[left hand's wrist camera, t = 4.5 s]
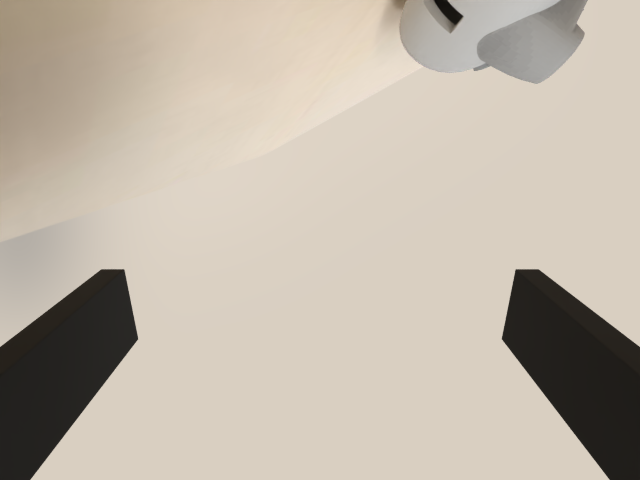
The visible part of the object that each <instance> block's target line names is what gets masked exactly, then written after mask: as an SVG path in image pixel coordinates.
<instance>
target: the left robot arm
mask: <svg viewBox="0 0 640 480" xmlns="http://www.w3.org/2000/svg"><path fill="white" fill-rule="evenodd" d="M137 340H138V336H137V331H136V326H135V321H134V316H133V311H132V306H131V301H130V296H129V291H128V286H127V281H126V276H125V271H124V269H122V270H121V269H118V270H117V269H107V270H106V269H105V270H104V269H102V270H100V271H99V272H97V273H96V274H95V275H94V276H92V277H91V278H90V279H88V280H87V281H86V282H85V283H83V284H82V285H81V286H79V287H78V288H77V289H75V290H74V291H73V292H71V293H70V294H69V295H67V296H66V297H65V298H64V299H62V300H61V301H60V302H58V303H57V304H56V305H54V306H53V307H52V308H51V309H49V310H48V311H47V312H45V313H44V314H43V315H41V316H40V317H39V318H38V319H36V320H35V321H34V322H32V323H31V324H30V325H28V326H27V327H26V328H24V329H23V330H22V331H21V332H19V333H18V334H17V335H15V336H14V337H13V338H11V339H10V340H9V341H7V342H6V343H5V344H4V345H2V346H1V347H0V480H30V479H31V478H32V477H33V476H34V474H35V473H36V472H37V470H38V469H39V468H40V466H41V465H42V464H43V462H44V461H45V460H46V459H47V457H48V456H49V455H50V453H51V452H52V451H53V449H54V448H55V447H56V445H57V444H58V443H59V442H60V440H61V439H62V438H63V436H64V435H65V434H66V432H67V431H68V430H69V428H70V427H71V426H72V425H73V423H74V422H75V421H76V419H77V418H78V417H79V416H80V414H81V413H82V412H83V410H84V409H85V408H86V406H87V405H88V404H89V402H90V401H91V400H92V399H93V397H94V396H95V395H96V393H97V392H98V391H99V389H100V388H101V387H102V386H103V384H104V383H105V382H106V380H107V379H108V378H109V376H110V375H111V374H112V373H113V371H114V370H115V369H116V367H117V366H118V365H119V363H120V362H121V361H122V359H123V358H124V357H125V356H126V354H127V353H128V352H129V350H130V349H131V348H132V346H133V345H134V344H135V343H136V341H137ZM502 340H503V341H504V342H505V344H506V345H507V346H508V348H509V349H510V350H511V352H512V353H513V354H514V355H515V357H516V358H517V359H518V361H519V362H520V363H521V365H522V366H523V367H524V369H525V370H526V371H527V372H528V374H529V375H530V376H531V378H532V379H533V380H534V382H535V383H536V384H537V386H538V387H539V388H540V389H541V391H542V392H543V393H544V395H545V396H546V397H547V399H548V400H549V401H550V402H551V404H552V405H553V406H554V408H555V409H556V410H557V412H558V413H559V414H560V416H561V417H562V418H563V419H564V421H565V422H566V423H567V425H568V426H569V427H570V429H571V430H572V431H573V432H574V434H575V435H576V436H577V438H578V439H579V440H580V442H581V443H582V444H583V445H584V447H585V448H586V449H587V451H588V452H589V453H590V455H591V456H592V457H593V459H594V460H595V461H596V462H597V464H598V465H599V466H600V468H601V469H602V470H603V472H604V473H605V474H606V476H607V477H608V478H609V479H610V480H640V347H639V346H638V345H636V344H635V343H634V342H632V341H631V340H630V339H629V338H627V337H626V336H625V335H623V334H622V333H621V332H619V331H618V330H617V329H616V328H614V327H613V326H612V325H610V324H609V323H608V322H606V321H605V320H604V319H603V318H601V317H600V316H599V315H597V314H596V313H595V312H593V311H592V310H591V309H589V308H588V307H587V306H586V305H584V304H583V303H582V302H580V301H579V300H578V299H576V298H575V297H574V296H573V295H571V294H570V293H569V292H567V291H566V290H565V289H563V288H562V287H561V286H559V285H558V284H557V283H556V282H554V281H553V280H552V279H550V278H549V277H548V276H546V275H545V274H544V273H543V272H541V271H540V270H538V269H530V270H529V269H527V270H526V269H525V270H523V269H522V270H521V269H520V270H519V269H518V270H517V269H516V271H515V276H514V281H513V286H512V291H511V296H510V301H509V306H508V311H507V316H506V321H505V326H504V331H503V336H502Z"/></svg>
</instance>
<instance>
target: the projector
mask: <svg viewBox="0 0 640 480" xmlns="http://www.w3.org/2000/svg"><path fill="white" fill-rule="evenodd" d="M586 2H587V0H406V2H405V5H404V7H403V11H402V14H401V19H400V37H401V41H402V44H403V46H404V48H405V50H406V51H407V52H408V54H409V55H410V56H411V57H412V58H413V59H414V60H415V61H417V62H418V63H419V64H421V65H423V66H425V67H427V68H429V69H432V70H435V71H438V72H447V73H454V72H461V71H466V70H469V69H472V68H473V69H474V71H477V70H482V69H484V68H487V67H489V66H492V67H494V68H496V69H498V70H500V71H502V72H504V73H506V74H508V75H510V76H513V77H515V78H518V79H521V80H524V81H528V82H532V83H536V84H537V83H540V82H542V81H544V80H545V79H547V78H548V77H550V76H551V75H552V74H553V73H554V72H556V71H557V70H558V69H559V68H560V67H561V66H562V65H563V64H564V63H565V62H566V61H567V60H568V59H569V57H570V56H571V55H572V54H573V53H574V52H575V50H576V49H577V47H578V46H579V45H580V43H581V41H582V39H583V37H584V31H583V30H582V29H581V28H580V27H579V26H578V25H577V24H576V23H577V21H578V19H579V17H580V15H581V13H582V11H583V10H584V6H585V4H586Z"/></svg>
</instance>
